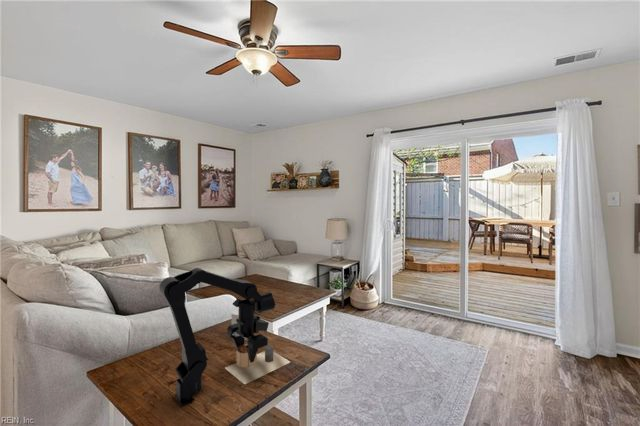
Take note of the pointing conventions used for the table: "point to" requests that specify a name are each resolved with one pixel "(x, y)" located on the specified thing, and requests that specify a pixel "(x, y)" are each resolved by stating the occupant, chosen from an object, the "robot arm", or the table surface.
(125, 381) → the table surface
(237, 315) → the cup
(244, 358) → the sleeve
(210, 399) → the table surface
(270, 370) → the duct base
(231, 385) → the table surface
